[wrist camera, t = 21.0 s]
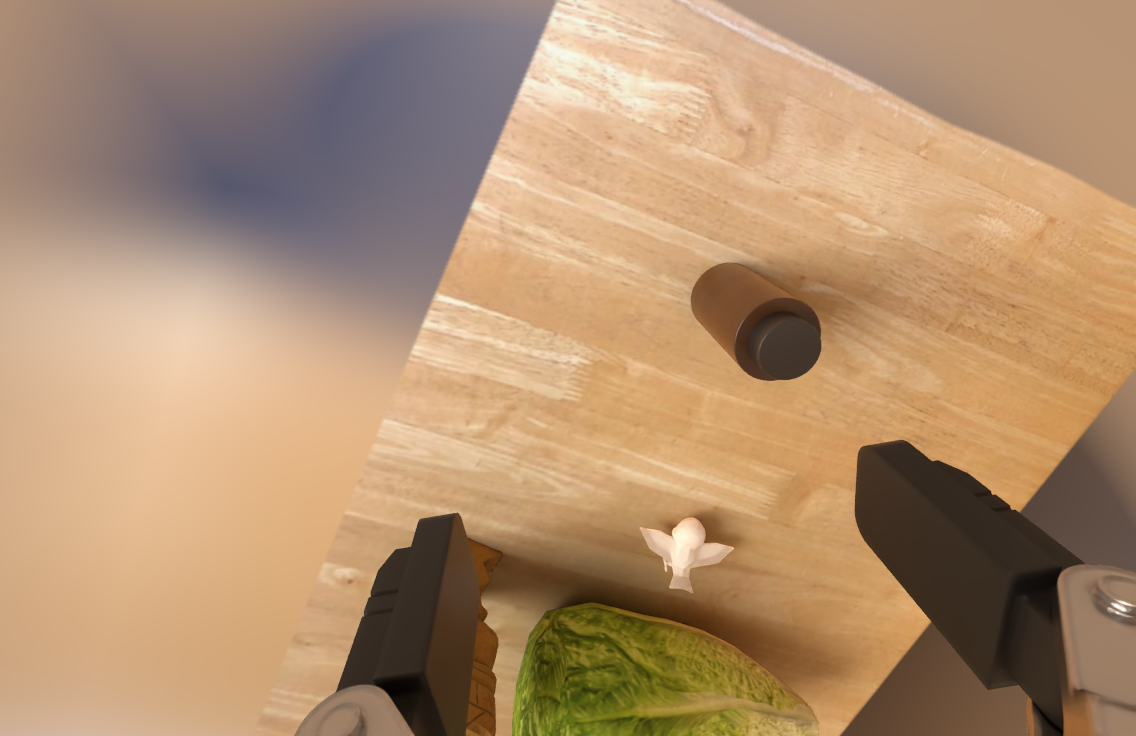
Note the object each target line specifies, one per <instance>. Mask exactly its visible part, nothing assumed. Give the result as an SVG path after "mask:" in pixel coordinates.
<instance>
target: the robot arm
mask: <svg viewBox="0 0 1136 736" xmlns="http://www.w3.org/2000/svg"><path fill="white" fill-rule="evenodd" d="M855 518H856V522H857V526H858V528H859V531H860V533H861V535H862V537H863V539H864V540H865V542H866V543H867V544H868V545H869V547H870V548H871V549H872V550H873V552H874V553H875V554H876V555H877V556H878V558H879V559H880V560H881V561H882V562H883V564H884V565H885V566H886V567H887V568H888V570H889V571H890V572H891V573H892V574H893V576H894V577H895V578H896V579H897V580H898V582H899V583H900V584H901V585H902V587H903V588H904V589H905V590H906V591H907V593H908V594H909V595H910V596H911V597H912V599H913V600H914V601H915V602H916V603H917V605H918V606H919V607H920V608H921V609H922V611H923V612H924V613H925V614H926V615H927V617H928V618H929V619H930V620H931V622H932V623H933V624H934V625H935V626H936V627H937V629H938V630H939V631H940V632H941V634H942V635H943V636H944V637H945V638H946V640H947V641H948V642H949V643H950V644H951V646H952V647H953V648H954V649H955V650H956V652H957V653H958V654H959V655H960V656H961V658H962V659H963V660H964V661H965V663H966V664H967V665H968V666H969V667H970V669H971V670H972V671H973V672H974V673H975V674H976V676H977V677H978V678H979V679H980V681H981V682H982V683H983V684H984V685H985V687H986V688H987V689H988V690H990V689H996V688H1002V687H1008V686H1014V685H1019V686H1020V687H1021V688H1022V689H1023V690H1024V691H1025V692H1026V694H1027V695H1028V696H1029V699H1028V703H1027V708H1026V720H1027V735H1028V736H1136V573H1134V572H1131V571H1128V570H1125V569H1121V568H1117V567H1112V566H1107V565H1097V564H1085V563H1084V562H1082V561H1081V560H1080V559H1079V558H1077V557H1076V556H1075V555H1073V554H1072V553H1071V552H1070V551H1068V550H1067V549H1066V548H1064V547H1063V546H1062V545H1061V544H1059V543H1058V542H1057V541H1055V540H1054V539H1052V538H1051V537H1050V536H1049V535H1048V534H1046V533H1045V532H1044V531H1042V530H1041V529H1039V528H1038V527H1037V526H1036V525H1035V524H1033V523H1032V522H1030V521H1029V520H1028V519H1027V518H1025V517H1024V516H1023V515H1021V514H1020V513H1019V512H1018V511H1016V510H1011V508H1010V505H1008V504H1007V503H1006V502H1005V501H1003V500H1002V499H1001V498H999V497H998V496H997V495H992V494H991V491H990V490H989V489H988V488H986V487H985V486H984V485H982V484H981V483H980V482H979V481H977V480H976V479H975V478H973V477H972V476H971V475H969V474H968V473H966V472H964V471H961V470H959V469H957V468H954V467H952V466H950V465H948V464H945V463H943V462H941V461H939V460H937V461H931V460H930V459H928V458H927V457H926V456H925V455H924V454H922V453H921V452H920V451H919V450H917V449H916V448H915V447H914V446H912V445H911V444H910V443H908V442H907V441H905V440H897V441H891V442H885V443H879V444H873V445H867V446H863V447H861V449H860V450H859V453H858V459H857V477H856V494H855ZM479 601H480V596H479V583H478V577H477V572H476V568H475V565H474V561H473V557H472V554H471V550H470V547H469V543H468V539H467V536H466V532H465V529H464V525H463V522H462V519H461V516H460V515H459V513H453V514H447V515H441V516H435V517H429V518H423V519H420V520H419V522H418V525H417V528H416V532H415V535H414V539H413V542H412V546H411V547H408V548H402V549H396V550H395V551H394V552H393V553H392V554H391V556H390V557H389V558H388V559H387V561H386V562H385V563H384V564H383V565H382V567H381V568H380V569H379V570H378V573H377V576H376V579H375V581H374V584H373V587H372V590H371V597H369V599H368V602H367V604H366V607H365V610H364V617H362V619H361V622H360V625H359V627H358V630H357V633H356V636H355V639H354V642H353V645H352V648H351V650H350V653H349V656H348V659H347V662H346V665H345V668H344V671H343V673H342V676H341V679H340V682H339V685H338V688H337V690H336V693H334V694H332V695H331V696H329V697H328V698H326V699H325V700H323V701H322V702H321V703H320V704H318V705H317V706H316V707H315V708H314V709H313V710H312V711H311V712H310V713H309V714H308V716H307V717H306V718H305V719H304V720H303V722H302V723H301V725H300V726H299V728H298V730H297V732H296V734H295V735H294V736H465V735H466V726H467V717H468V707H469V698H470V688H471V679H472V670H473V660H474V651H475V641H476V632H477V623H478V613H479Z"/></svg>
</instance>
